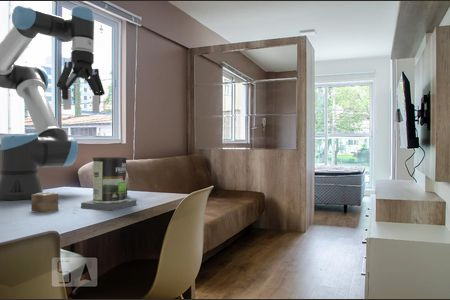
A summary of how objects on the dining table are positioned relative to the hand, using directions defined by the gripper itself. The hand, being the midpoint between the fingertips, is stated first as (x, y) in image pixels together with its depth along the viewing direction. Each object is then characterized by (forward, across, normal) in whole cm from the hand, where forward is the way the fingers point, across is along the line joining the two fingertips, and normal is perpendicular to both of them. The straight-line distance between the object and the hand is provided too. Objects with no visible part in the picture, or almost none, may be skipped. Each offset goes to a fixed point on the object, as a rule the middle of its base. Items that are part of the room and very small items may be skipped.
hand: (82, 111), depth 126 cm
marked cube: (+32, -22, -8) cm, 39 cm away
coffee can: (+30, -7, -19) cm, 36 cm away
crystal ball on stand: (+32, +9, -8) cm, 34 cm away
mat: (+31, -7, -19) cm, 37 cm away
